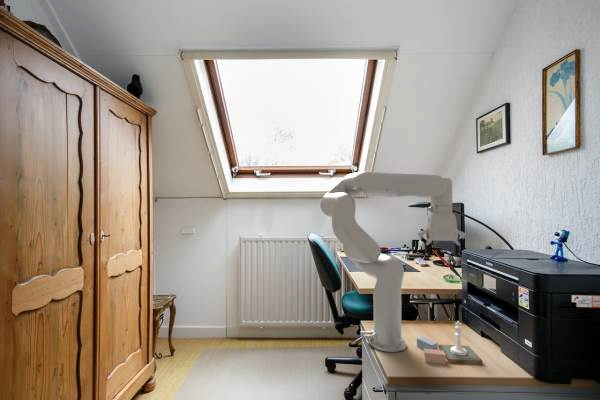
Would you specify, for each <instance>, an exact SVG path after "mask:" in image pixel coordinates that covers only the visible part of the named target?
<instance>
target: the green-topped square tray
mask: <svg viewBox="0 0 600 400" xmlns="http://www.w3.org/2000/svg"><path fill="white" fill-rule="evenodd" d="M455 345H456V344H454V345H453V344H438V350H444V353H445V355H446V362H448V363H449V364H450V363H451V364H466V365H467V364H469V365H483V360H482V358H481V357H480V356H479V355H478V354H477V353H476V352H475V351H474V350H473V349H472V348H471V347H470V346H469V345H461V346H462V347H463V348H464V349H466V350H467V354H466V355H457V354H454V353H452V352H451V351H450V349H451V347H453V346H455Z"/></svg>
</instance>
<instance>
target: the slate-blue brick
mask: <svg viewBox="0 0 600 400" xmlns="http://www.w3.org/2000/svg"><path fill="white" fill-rule="evenodd" d="M438 345H439V343H438V342H436V341H433V339H432V340H431V339H429V338H427V337H424V336H420V337H418V338H416V347H418V348H419V349H421V350H423V351H424V349H433V350H439V348H438Z"/></svg>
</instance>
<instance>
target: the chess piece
mask: <svg viewBox="0 0 600 400" xmlns="http://www.w3.org/2000/svg"><path fill="white" fill-rule="evenodd" d="M454 328H455V333H454V335H455V336H456V339H455V340H456V342H455V344H454V345H455V346H453V347H451V349H450V351H451V352H452V353H454V354H457V355H466V354H467V350H466V349H464V348H463V347H462V346H463V345H462V342H461V337H462V336H463V334H462V333H461V332H462V329H463V328H462V323H461V322H460V321H459V320H457V322H455V327H454Z"/></svg>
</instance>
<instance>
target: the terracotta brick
mask: <svg viewBox="0 0 600 400" xmlns="http://www.w3.org/2000/svg"><path fill="white" fill-rule="evenodd" d="M423 358H424V362H425V363H432V364H433V363H434V364H441V365H442V364H443V365H446V364H447V360H446V355H445V353H444V350H439V349H438V350H433V349H424V350H423Z"/></svg>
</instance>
